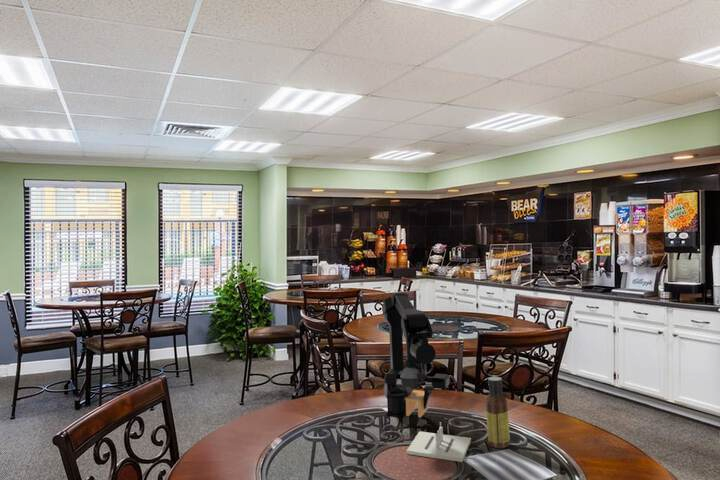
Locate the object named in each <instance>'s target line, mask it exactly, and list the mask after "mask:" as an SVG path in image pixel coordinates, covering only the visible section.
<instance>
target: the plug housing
mask: <svg viewBox="0 0 720 480" xmlns="http://www.w3.org/2000/svg"><path fill="white" fill-rule="evenodd" d="M416 409H417V417H418V418H422V416H424V414H425V413H426V412H427V411H428V409H429V404H428V405H427V408H426V409H424V390H417V389H413V390H412V391H411V394H410V395H409V396H408V397H407V398H406V415H405V416H407V417H409V416H410V415H412V413H414V411H415V410H416Z"/></svg>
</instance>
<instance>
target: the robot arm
mask: <svg viewBox="0 0 720 480" xmlns="http://www.w3.org/2000/svg"><path fill="white" fill-rule="evenodd" d="M381 312H382V315H383V317H384V320H385V322H386V323H387V324H388V331H389V350H390V351H389V354H390V357H389V358H390V360H389V361H390V368H389V370H388V371H387V373H385V375H384V377H383V379H384V380H383V382H384V385H383V388H382V389H383V396H385V398H386V399H387V401H386V402H387V403H386V404H387V405H386V406H387V407H386V408H387V412H386V413H385V415H386V416H391V417H392V416H393V417H402V418H404V417H405V416H406V398H407V397H408V396H409V395H410V394H411V393H412V389H416V388H418V387H419V384H425V386H424V387H423V391H424V409H426V408H427V405H428V406H429V401H430V399H431V394H432V392H433V391H435V389H440V390H445V389H447V388H448V387H449V385H450V384H451V383H450V382H451V381H450V380H451V378H450V376H449V375H448V374H447V373H446V374H445V373H435V374H434V375H433V376H429V375H428V370H427V365H428V364H431V363H432V362H433V361H434V359H435V358H436V354H437V353H436V349H435V348H434V346H433V345H431V344H430V343H429V339H433V333H434V331H433V328H432V325H431V321H430V320H429V317H428V316H427V314H425V312H423V311H422V310H420V309H416V307H414V304H413V303H412V302H411V300H410V299H409V296H408V293H405V292H394V293H392V294H391V295H390V296H389V297H388V298H385V299H384V300H383V302H382V305H381ZM403 337H404V339H405V354H406V357H405V358H406V359H405V360H404V342H403V341H404V340H403ZM427 375H428V376H427Z"/></svg>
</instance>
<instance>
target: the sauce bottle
mask: <svg viewBox="0 0 720 480" xmlns="http://www.w3.org/2000/svg"><path fill="white" fill-rule="evenodd" d="M487 384H488V389H489V390H488V395H487V397H486V399H485V408H486V409H485V410H486V411H485V413H486V424H487V425H486V427H487V439H488V444H489V446H491V447H492V448H495V449H496V448H497V449H506V448H508V447H509V446H510V444H511V441H510V440H511V436H510V422H509V409H508V401H507V399H506V397H505V395H504V393H503V378H502V377H499V376H490V377H487Z"/></svg>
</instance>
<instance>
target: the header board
mask: <svg viewBox="0 0 720 480" xmlns="http://www.w3.org/2000/svg"><path fill="white" fill-rule="evenodd" d="M471 443H472V438H471V437H468V436H460V435H459V436H457V435H452V434H451V435H450V434H444V428H443V426H439V429H438V430H437V433H434V432H427V431H419V432H417V434H416V436H415V437H414V439H413V440H412V442H411V443H410V445H409V446H408V448H407V449H406V454H407V455H411V456H417V457H419V456H420V457H424V458H426V457H427V458H431V459H437V460H438V459H440V460H445V461H453V462H459V463H463V461H464V459H465V457H466V454H467V452H468V450H469V447H470V445H471Z"/></svg>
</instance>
